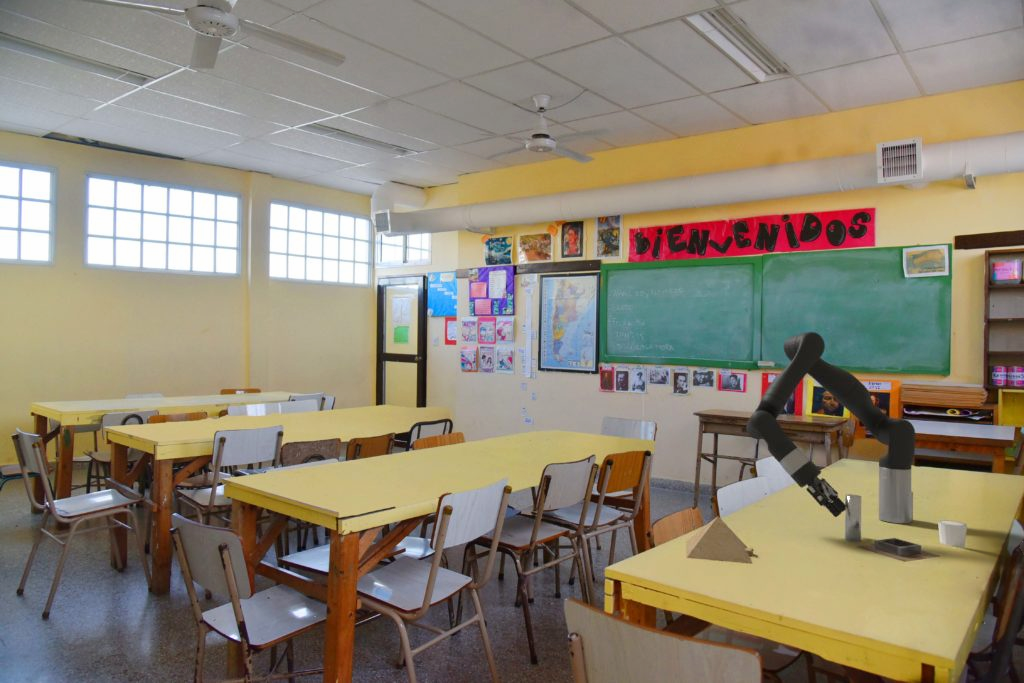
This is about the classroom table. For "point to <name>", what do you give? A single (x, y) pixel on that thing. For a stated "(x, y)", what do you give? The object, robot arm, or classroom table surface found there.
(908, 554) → the square socket base
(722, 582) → the classroom table surface
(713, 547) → the model pyramid
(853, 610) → the classroom table surface
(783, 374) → the robot arm
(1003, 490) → the classroom table surface
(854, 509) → the peg
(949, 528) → the white cup
